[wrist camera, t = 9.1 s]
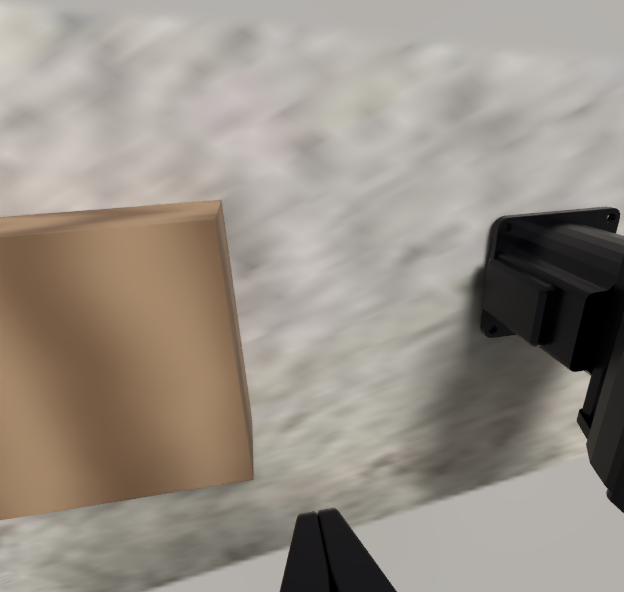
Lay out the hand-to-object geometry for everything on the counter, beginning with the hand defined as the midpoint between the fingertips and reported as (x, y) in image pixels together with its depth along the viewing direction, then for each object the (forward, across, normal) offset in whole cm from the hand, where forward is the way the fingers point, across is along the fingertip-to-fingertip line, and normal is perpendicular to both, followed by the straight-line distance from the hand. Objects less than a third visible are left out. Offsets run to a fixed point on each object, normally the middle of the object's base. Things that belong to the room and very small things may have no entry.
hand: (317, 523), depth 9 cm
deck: (+12, +8, +1) cm, 14 cm away
